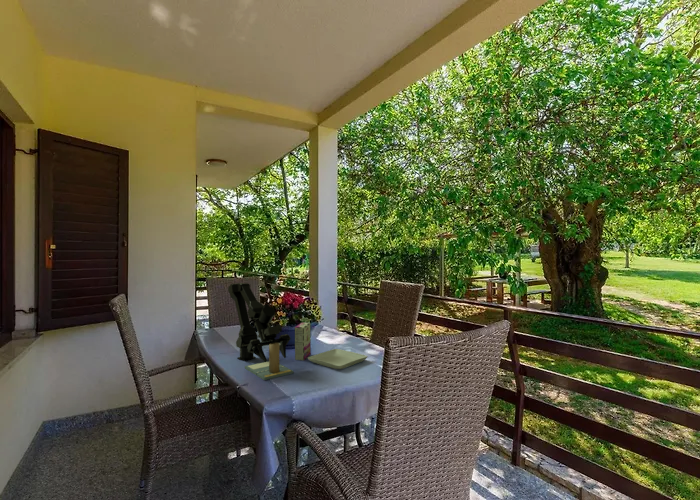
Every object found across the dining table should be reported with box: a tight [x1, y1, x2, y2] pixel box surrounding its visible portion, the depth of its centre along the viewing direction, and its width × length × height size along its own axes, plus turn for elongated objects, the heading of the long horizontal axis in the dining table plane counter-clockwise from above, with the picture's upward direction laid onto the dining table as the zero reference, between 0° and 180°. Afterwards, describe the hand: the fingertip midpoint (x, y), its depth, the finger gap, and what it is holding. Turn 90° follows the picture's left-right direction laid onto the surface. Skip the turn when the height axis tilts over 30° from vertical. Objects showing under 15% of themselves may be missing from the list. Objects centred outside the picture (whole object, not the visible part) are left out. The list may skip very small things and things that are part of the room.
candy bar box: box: [294, 322, 312, 362], centre depth 190 cm, size 11×5×16 cm, turn 168°
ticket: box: [244, 360, 286, 377], centre depth 173 cm, size 12×14×1 cm
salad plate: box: [307, 348, 368, 370], centre depth 182 cm, size 21×21×3 cm
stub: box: [256, 343, 294, 381], centre depth 165 cm, size 7×14×13 cm, turn 129°
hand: (275, 359), depth 165 cm, fingers open, 9 cm apart
